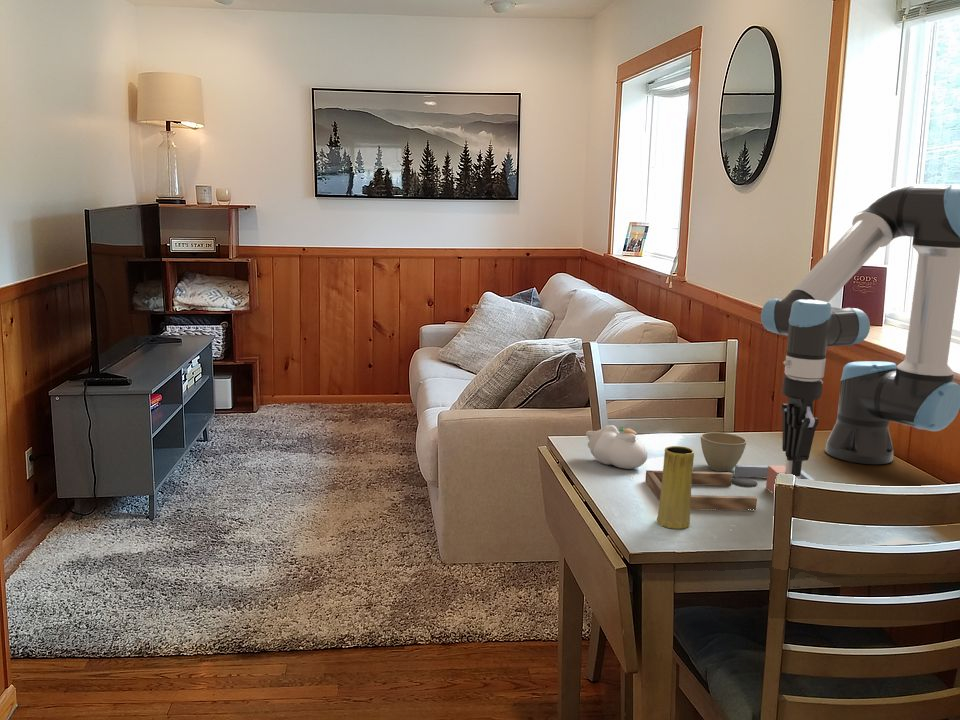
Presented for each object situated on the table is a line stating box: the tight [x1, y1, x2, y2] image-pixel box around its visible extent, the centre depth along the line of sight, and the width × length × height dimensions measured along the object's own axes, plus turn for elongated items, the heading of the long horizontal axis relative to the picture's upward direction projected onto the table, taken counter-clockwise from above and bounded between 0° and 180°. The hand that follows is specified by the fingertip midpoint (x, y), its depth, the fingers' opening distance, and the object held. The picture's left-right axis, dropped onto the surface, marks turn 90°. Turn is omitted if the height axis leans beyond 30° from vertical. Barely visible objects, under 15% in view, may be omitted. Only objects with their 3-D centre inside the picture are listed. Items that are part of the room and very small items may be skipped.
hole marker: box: [731, 477, 758, 488], centre depth 195 cm, size 5×5×1 cm
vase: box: [656, 445, 695, 530], centre depth 168 cm, size 6×6×14 cm
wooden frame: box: [644, 469, 758, 511], centre depth 186 cm, size 18×16×2 cm
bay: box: [734, 464, 815, 480], centre depth 195 cm, size 14×10×2 cm
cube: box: [765, 464, 786, 496], centre depth 190 cm, size 5×5×5 cm
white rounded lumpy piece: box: [585, 424, 648, 470], centre depth 204 cm, size 10×8×15 cm
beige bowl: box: [700, 431, 748, 472], centre depth 204 cm, size 10×10×7 cm
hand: (791, 489), depth 187 cm, fingers closed
